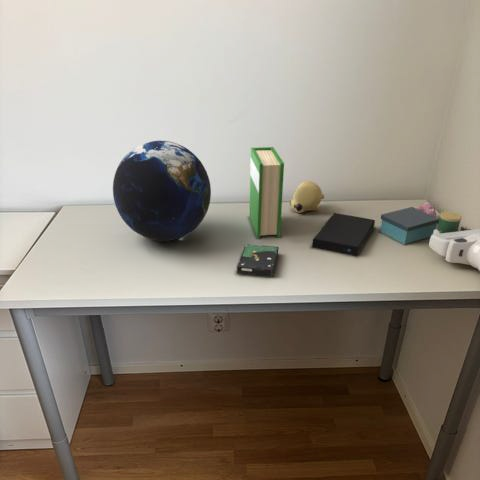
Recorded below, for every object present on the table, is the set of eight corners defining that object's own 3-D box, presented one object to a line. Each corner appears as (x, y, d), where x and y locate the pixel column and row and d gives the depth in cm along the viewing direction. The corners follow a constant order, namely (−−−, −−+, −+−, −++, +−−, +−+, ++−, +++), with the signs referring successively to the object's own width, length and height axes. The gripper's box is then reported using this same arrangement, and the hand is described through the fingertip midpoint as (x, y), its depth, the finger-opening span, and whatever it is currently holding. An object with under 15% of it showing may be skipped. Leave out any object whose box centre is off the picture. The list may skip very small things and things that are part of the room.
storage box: (408, 223, 177) (412, 206, 173) (435, 236, 168) (439, 218, 165) (378, 231, 171) (381, 214, 167) (404, 245, 162) (408, 227, 159)
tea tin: (442, 239, 166) (450, 210, 160) (458, 246, 162) (466, 216, 156) (429, 243, 163) (436, 213, 158) (444, 251, 159) (452, 220, 153)
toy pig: (299, 214, 192) (280, 198, 186) (321, 189, 189) (302, 171, 183) (309, 224, 184) (289, 207, 178) (332, 197, 181) (312, 179, 175)
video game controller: (427, 230, 175) (441, 213, 172) (417, 224, 174) (430, 207, 171) (419, 219, 184) (432, 202, 180) (409, 213, 183) (422, 196, 179)
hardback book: (279, 237, 167) (284, 163, 153) (257, 238, 166) (259, 164, 152) (270, 216, 181) (273, 147, 168) (249, 217, 180) (250, 147, 167)
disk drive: (272, 278, 144) (278, 254, 156) (273, 269, 143) (278, 245, 155) (236, 275, 146) (244, 251, 158) (236, 266, 144) (244, 243, 156)
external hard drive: (373, 228, 173) (375, 219, 171) (356, 256, 156) (358, 247, 154) (332, 220, 178) (333, 212, 176) (311, 247, 160) (312, 238, 159)
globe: (230, 234, 168) (230, 140, 152) (164, 267, 149) (155, 164, 132) (167, 211, 184) (160, 124, 167) (100, 238, 165) (84, 143, 148)
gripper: (510, 235, 148) (481, 217, 159) (448, 242, 144) (422, 223, 155) (504, 255, 152) (475, 235, 163) (443, 262, 148) (417, 242, 159)
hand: (449, 229), depth 159 cm, fingers open, 8 cm apart
